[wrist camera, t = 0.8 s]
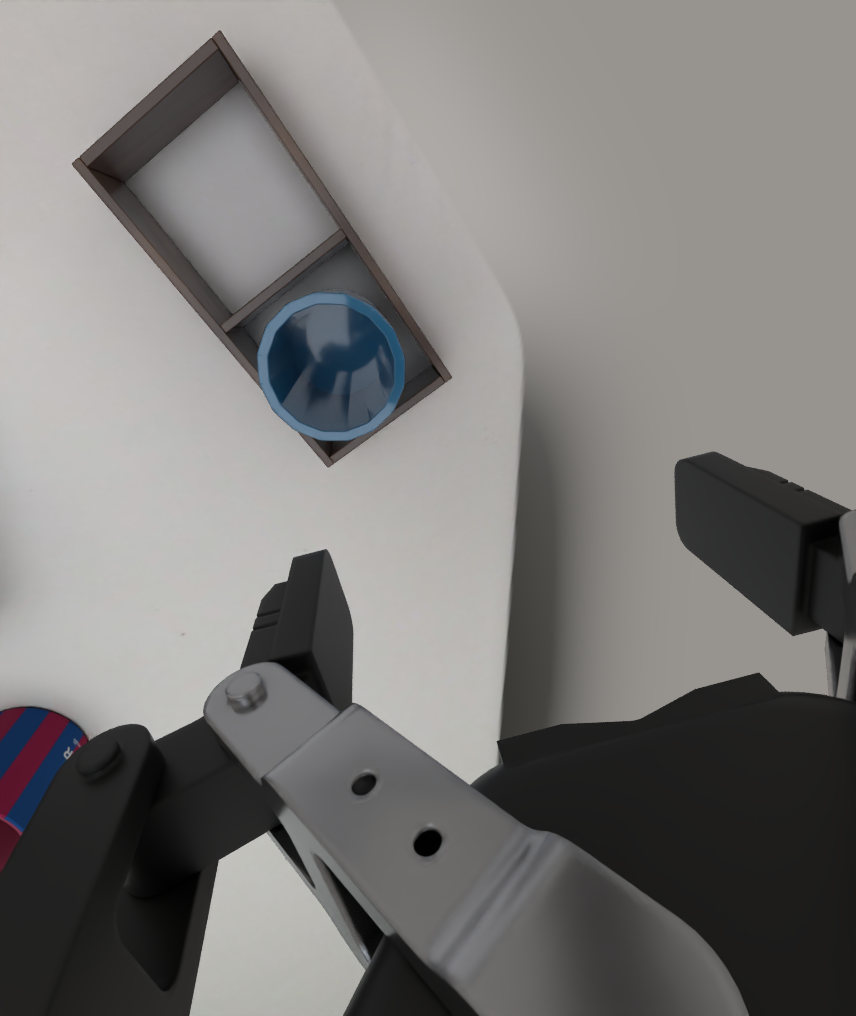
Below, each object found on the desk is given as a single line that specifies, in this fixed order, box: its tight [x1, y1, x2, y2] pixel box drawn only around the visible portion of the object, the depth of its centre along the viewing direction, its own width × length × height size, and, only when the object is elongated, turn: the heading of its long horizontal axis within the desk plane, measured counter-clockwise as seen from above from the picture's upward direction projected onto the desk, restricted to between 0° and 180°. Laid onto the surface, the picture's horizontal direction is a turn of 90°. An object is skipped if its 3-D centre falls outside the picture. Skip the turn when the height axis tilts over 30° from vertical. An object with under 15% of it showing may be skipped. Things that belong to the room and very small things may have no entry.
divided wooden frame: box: [72, 31, 452, 467], centre depth 24 cm, size 15×7×4 cm, turn 35°
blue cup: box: [257, 289, 405, 441], centre depth 23 cm, size 5×5×8 cm
